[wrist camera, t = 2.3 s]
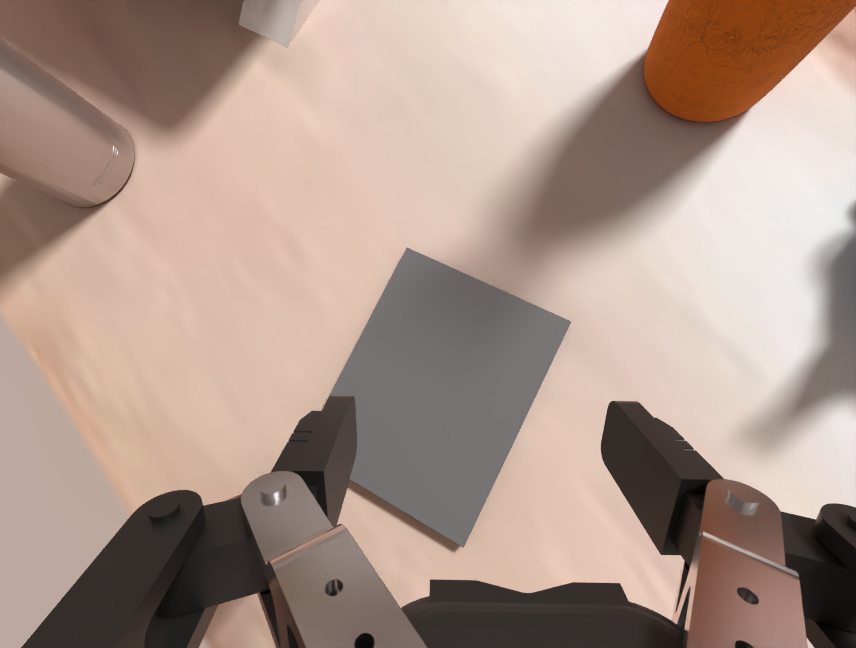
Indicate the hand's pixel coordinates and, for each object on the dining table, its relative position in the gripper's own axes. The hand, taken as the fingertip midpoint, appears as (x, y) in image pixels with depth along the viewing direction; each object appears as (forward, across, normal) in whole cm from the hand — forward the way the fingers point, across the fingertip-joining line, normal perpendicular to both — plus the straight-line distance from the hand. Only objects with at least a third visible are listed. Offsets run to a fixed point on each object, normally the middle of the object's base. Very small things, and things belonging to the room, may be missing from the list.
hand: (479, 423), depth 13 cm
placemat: (+17, +1, +8) cm, 19 cm away
